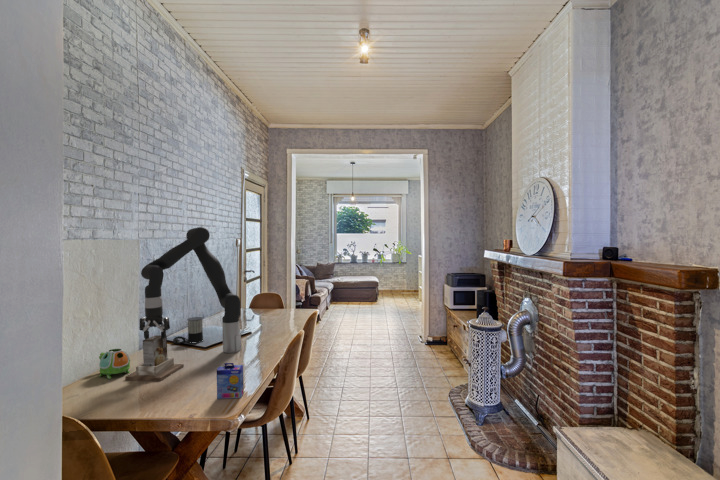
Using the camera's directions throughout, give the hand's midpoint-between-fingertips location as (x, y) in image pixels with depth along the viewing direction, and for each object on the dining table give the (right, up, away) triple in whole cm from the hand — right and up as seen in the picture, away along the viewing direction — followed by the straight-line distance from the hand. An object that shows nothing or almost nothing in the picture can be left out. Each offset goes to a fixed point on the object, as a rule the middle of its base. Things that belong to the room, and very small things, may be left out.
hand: (155, 338), depth 182 cm
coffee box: (0, -16, 0) cm, 16 cm away
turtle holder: (-21, -18, +1) cm, 27 cm away
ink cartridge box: (+46, -17, -27) cm, 56 cm away
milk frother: (-8, -17, +53) cm, 56 cm away
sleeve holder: (0, -17, 0) cm, 17 cm away
